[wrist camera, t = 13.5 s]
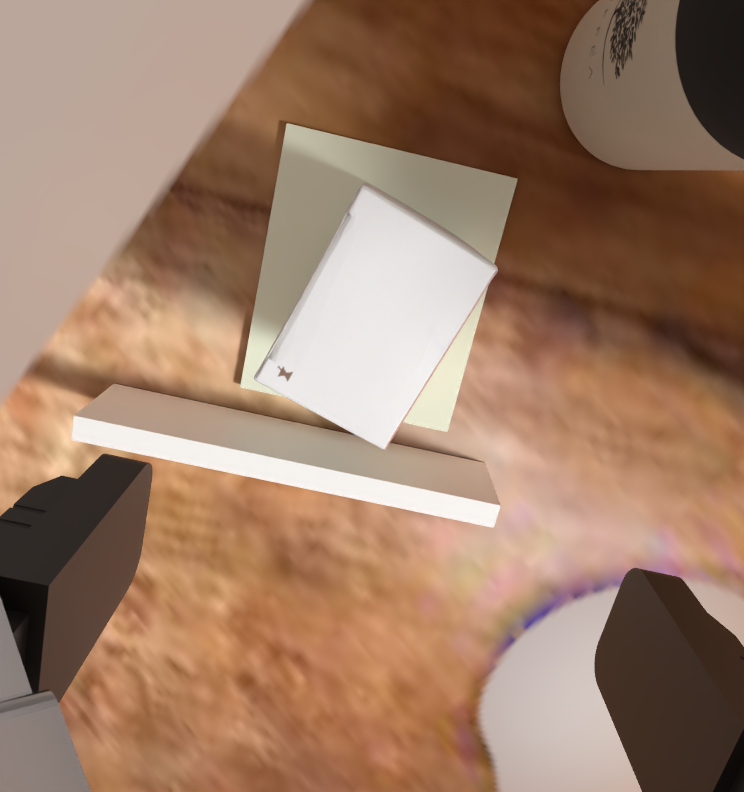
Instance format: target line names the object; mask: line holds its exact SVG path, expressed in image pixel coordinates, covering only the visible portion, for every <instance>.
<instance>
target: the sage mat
mask: <svg viewBox="0 0 744 792" xmlns="http://www.w3.org/2000/svg"><path fill="white" fill-rule="evenodd" d="M517 180H518V179H517V178H513V177H509V176H505V175H500V174H496V173H492V172H488V171H484V170H480V169H475V168H471V167H467V166H463V165H459V164H455V163H451V162H446V161H442V160H438V159H434V158H430V157H426V156H421V155H417V154H413V153H409V152H405V151H401V150H397V149H392V148H388V147H384V146H380V145H376V144H372V143H367V142H363V141H359V140H355V139H351V138H347V137H343V136H338V135H334V134H330V133H326V132H322V131H318V130H313V129H309V128H305V127H301V126H297V125H293V124H289V123H287V124H286V130H285V135H284V141H283V147H282V152H281V158H280V164H279V169H278V175H277V181H276V186H275V192H274V198H273V203H272V209H271V215H270V221H269V226H268V232H267V238H266V243H265V249H264V255H263V260H262V266H261V272H260V277H259V283H258V289H257V294H256V300H255V306H254V311H253V317H252V323H251V328H250V334H249V340H248V345H247V351H246V357H245V362H244V368H243V374H242V379H241V385H240V387H241V388H246V389H250V390H255V391H259V392H264V393H269V394H273V395H278V396H283V395H281V394H279V393H277V392H275V391H273V390H272V389H270V388H268V387H266V386H264V385H262V384H260V383H258V382H257V381H255V380H254V376H255V374H256V372H257V371H258V369H259V368H260V366H261V364H262V362H263V361H264V359H265V357H266V356H267V354H268V352H269V350H270V348H271V346H272V344H273V343H274V341H275V339H276V337H277V335H278V334H279V332H280V330H281V328H282V327H283V325H284V323H285V321H286V319H287V318H288V316H289V314H290V312H291V310H292V309H293V307H294V305H295V303H296V301H297V300H298V298H299V296H300V294H301V292H302V291H303V289H304V287H305V285H306V283H307V282H308V280H309V278H310V276H311V274H312V273H313V271H314V269H315V267H316V265H317V264H318V262H319V260H320V258H321V256H322V254H323V253H324V251H325V249H326V247H327V245H328V244H329V242H330V240H331V238H332V236H333V235H334V233H335V231H336V229H337V227H338V225H339V223H340V222H341V220H342V218H343V216H344V214H345V212H346V210H347V208H348V207H349V205H350V203H351V201H352V199H353V197H354V195H355V193H356V190H357V189H358V187H359V186H360V185H362V184H364V183H369V184H371V185H373V186H375V187H377V188H378V189H380V190H382V191H383V192H385V193H387V194H389V195H390V196H392V197H394V198H395V199H397V200H399V201H401V202H402V203H404V204H406V205H407V206H409V207H411V208H412V209H414V210H416V211H417V212H419V213H421V214H422V215H424V216H426V217H427V218H429V219H431V220H432V221H434V222H436V223H437V224H439V225H440V226H442V227H443V228H445V229H446V230H448V231H450V232H451V233H453V234H454V235H456V236H457V237H459V238H460V239H461V240H463V241H464V242H466V243H467V244H469V245H470V246H472V247H473V248H475V249H476V250H477V251H478V252H479V253H480V254H482V255H483V256H484V257H485V258H487V259H488V260H489V261H491V262H492V263H493V264H494V263H495V259H496V255H497V252H498V248H499V245H500V241H501V238H502V234H503V230H504V227H505V223H506V220H507V216H508V212H509V209H510V205H511V202H512V198H513V194H514V191H515V187H516V184H517ZM487 288H488V287H487ZM487 288H486V290H485V292H484V293H483V295H482V297H481V298H480V300H479V301H478V303H477V305H476V306H475V308H474V309H473V311H472V313H471V314H470V316H469V317H468V319H467V320H466V322H465V324H464V325H463V327H462V328H461V330H460V332H459V333H458V335H457V336H456V338H455V340H454V341H453V343H452V344H451V346H450V348H449V349H448V351H447V352H446V354H445V356H444V357H443V359H442V360H441V362H440V363H439V365H438V367H437V368H436V370H435V372H434V373H433V375H432V376H431V378H430V380H429V381H428V383H427V384H426V386H425V388H424V389H423V391H422V392H421V394H420V396H419V397H418V399H417V400H416V402H415V404H414V405H413V407H412V408H411V410H410V412H409V413H408V415H407V416H406V418H405V420H404V421H403V423H407V424H412V425H417V426H421V427H426V428H431V429H435V430H440V431H444V432H448V428H449V424H450V421H451V417H452V414H453V410H454V406H455V403H456V399H457V396H458V392H459V388H460V385H461V381H462V378H463V374H464V370H465V367H466V363H467V360H468V356H469V352H470V349H471V345H472V342H473V338H474V335H475V331H476V327H477V324H478V320H479V317H480V313H481V309H482V306H483V302H484V299H485V295H486V291H487ZM283 397H285V396H283Z"/></svg>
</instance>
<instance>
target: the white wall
mask: <svg viewBox="0 0 744 792" xmlns="http://www.w3.org/2000/svg"><path fill="white" fill-rule="evenodd" d="M72 440H75V441H80V442H85V443H89V444H94V445H99V446H104V447H109V448H113V449H118V450H123V451H128V452H133V453H137V454H142V455H147V456H152V457H157V458H161V459H166V460H171V461H176V462H181V463H185V464H190V465H195V466H200V467H205V468H209V469H214V470H219V471H224V472H229V473H233V474H238V475H243V476H248V477H253V478H257V479H262V480H267V481H272V482H277V483H281V484H286V485H291V486H296V487H300V488H305V489H310V490H315V491H320V492H324V493H329V494H334V495H339V496H344V497H348V498H353V499H358V500H363V501H368V502H372V503H377V504H382V505H387V506H392V507H396V508H401V509H406V510H411V511H416V512H420V513H425V514H430V515H435V516H440V517H444V518H449V519H454V520H459V521H464V522H468V523H473V524H478V525H483V526H488V527H492V528H494V525H495V522H496V519H497V515H498V512H499V509H500V506H501V505H500V502H499V500H498V497H497V494H496V491H495V489H494V486H493V483H492V481H491V478H490V475H489V472H488V470H487V467H486V464H485V463H483V462H478V461H474V460H469V459H464V458H460V457H455V456H450V455H446V454H441V453H436V452H432V451H427V450H422V449H418V448H413V447H408V446H404V445H399V444H394V443H389V445H388V447H387V449H381V448H379V447H377V446H376V445H374V444H372V443H370V442H368V441H366V440H364V439H363V438H361V437H359V436H357V435H352V434H348V433H343V432H338V431H334V430H329V429H324V428H320V427H315V426H310V425H306V424H301V423H296V422H292V421H287V420H282V419H278V418H273V417H268V416H264V415H259V414H254V413H249V412H245V411H240V410H235V409H231V408H226V407H221V406H217V405H212V404H207V403H203V402H198V401H193V400H189V399H184V398H179V397H175V396H170V395H165V394H161V393H156V392H151V391H147V390H142V389H137V388H133V387H128V386H123V385H119V384H112V385H111V386H110V387H109V388H108V389H106V390H105V391H104V392H103V393H101V394H100V395H99V396H98V397H96V398H95V399H94V400H93V401H92V402H90V403H89V404H88V405H87V406H85V407H84V408H83V409H82V410H80V411H79V412H78V413H77V414H76V415H74V422H73V431H72Z"/></svg>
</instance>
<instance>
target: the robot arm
mask: <svg viewBox="0 0 744 792" xmlns="http://www.w3.org/2000/svg"><path fill="white" fill-rule="evenodd" d="M151 482H152V465H151V464H150V463H147V462H142V461H137V460H133V459H128V458H123V457H119V456H114V455H109V454H102V455H101V456H100V457H99V458H98V459H97V460H96V461H95V462H94V463H93V464H92V465H91V466H90V467H89V468H88V469H87V470H86V471H85V472H84V473H83V474H82V475H81V476H80V477H79V478H78V479H75V478H70V477H65V476H60V477H57V478H55V479H52V480H50V481H47V482H45V483H42V484H40V485H37V486H35V487H32V488H31V489H30V490H29V491H28V492H27V493H26V494H25V495H23V496H22V497H21V498H20V499H19V500H18V501H17V502H16V503H15V504H14V506H13V508H9V509H8V510H7V511H6V512H5V513H4V514H2V515H1V516H0V792H91V791H90V788H89V785H88V783H87V780H86V777H85V774H84V772H83V769H82V766H81V764H80V761H79V758H78V755H77V753H76V750H75V747H74V744H73V742H72V739H71V736H70V734H69V731H68V728H67V725H66V723H65V720H64V717H63V714H62V712H61V709H60V706H59V704H58V703H59V702H60V700H61V699H62V697H63V695H64V694H65V692H66V690H67V689H68V687H69V685H70V684H71V682H72V680H73V679H74V677H75V676H76V674H77V672H78V671H79V669H80V667H81V666H82V664H83V662H84V661H85V659H86V657H87V656H88V654H89V653H90V651H91V649H92V648H93V646H94V644H95V643H96V641H97V639H98V638H99V636H100V634H101V633H102V631H103V629H104V628H105V626H106V625H107V623H108V621H109V620H110V618H111V616H112V615H113V613H114V611H115V610H116V608H117V606H118V605H119V603H120V602H121V600H122V598H123V597H124V595H125V593H126V592H127V590H128V588H129V586H130V585H131V582H132V580H133V578H134V575H135V572H136V569H137V566H138V563H139V559H140V555H141V550H142V544H143V537H144V530H145V523H146V516H147V509H148V502H149V495H150V489H151ZM595 677H596V682H597V685H598V687H599V690H600V692H601V694H602V697H603V699H604V701H605V704H606V706H607V709H608V711H609V713H610V716H611V718H612V721H613V723H614V725H615V728H616V730H617V733H618V735H619V737H620V740H621V742H622V745H623V747H624V749H625V752H626V754H627V756H628V759H629V761H630V764H631V766H632V768H633V771H634V773H635V775H636V778H637V780H638V783H639V785H640V787H641V790H642V792H744V647H743V645H742V644H741V643H740V641H739V640H738V639H737V637H736V636H735V635H734V634H732V633H731V632H730V631H729V630H728V629H726V628H725V627H724V626H723V625H722V624H720V623H719V622H718V621H717V620H716V619H714V618H713V617H712V616H711V615H710V614H708V613H707V612H706V610H705V609H704V608H703V606H702V605H701V604H700V602H699V601H698V600H697V598H696V597H695V596H694V594H693V593H692V591H691V590H690V589H689V587H688V586H687V585H686V583H685V582H684V581H683V580H682V579H681V578H679V577H676V576H671V575H667V574H662V573H657V572H653V571H648V570H643V569H638V568H633V569H631V570H630V571H628V573H627V574H626V575H625V577H624V579H623V581H622V584H621V586H620V589H619V591H618V594H617V596H616V599H615V602H614V604H613V607H612V609H611V612H610V614H609V617H608V619H607V622H606V624H605V628H604V630H603V632H602V635H601V637H600V640H599V642H598V646H597V649H596V654H595Z"/></svg>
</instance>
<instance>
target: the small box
mask: <svg viewBox="0 0 744 792" xmlns="http://www.w3.org/2000/svg"><path fill="white" fill-rule="evenodd" d="M497 271H498V268H497V266H496V265H495V264H493V263H492V262H491V261H489V260H488V259H487V258H485V257H484V256H483V255H482V254H480V253H479V252H478V251H477V250H476V249H475V248H473V247H472V246H470V245H469V244H467V243H466V242H464V241H463V240H461V239H460V238H459V237H457V236H456V235H454V234H453V233H451V232H450V231H448V230H446V229H445V228H443V227H442V226H440V225H439V224H437V223H436V222H434V221H432V220H431V219H429V218H427V217H426V216H424V215H422V214H421V213H419V212H417V211H416V210H414V209H412V208H411V207H409V206H407V205H406V204H404V203H402V202H401V201H399V200H397V199H395V198H394V197H392V196H390V195H389V194H387V193H385V192H383V191H382V190H380V189H378V188H377V187H375V186H373V185H371V184H369V183H364V184H362V185H360V186H359V187H358V189H357V190H356V193H355V195H354V197H353V199H352V201H351V203H350V205H349V207H348V208H347V210H346V212H345V214H344V216H343V218H342V220H341V222H340V223H339V225H338V227H337V229H336V231H335V233H334V235H333V236H332V238H331V240H330V242H329V244H328V245H327V247H326V249H325V251H324V253H323V254H322V256H321V258H320V260H319V262H318V264H317V265H316V267H315V269H314V271H313V273H312V274H311V276H310V278H309V280H308V282H307V283H306V285H305V287H304V289H303V291H302V292H301V294H300V296H299V298H298V300H297V301H296V303H295V305H294V307H293V309H292V310H291V312H290V314H289V316H288V318H287V319H286V321H285V323H284V325H283V327H282V328H281V330H280V332H279V334H278V335H277V337H276V339H275V341H274V343H273V344H272V346H271V348H270V350H269V352H268V354H267V356H266V357H265V359H264V361H263V362H262V364H261V366H260V368H259V369H258V371H257V372H256V374H255V376H254V380H255V381H257V382H258V383H260V384H262V385H264V386H266V387H268V388H270V389H272V390H273V391H275V392H277V393H279V394H281V395H283V396H285V397H287V398H288V399H290V400H292V401H294V402H296V403H298V404H300V405H301V406H303V407H305V408H307V409H309V410H311V411H313V412H314V413H316V414H318V415H320V416H322V417H324V418H326V419H327V420H329V421H331V422H333V423H335V424H337V425H338V426H340V427H342V428H344V429H346V430H348V431H349V432H351V433H353V434H355V435H357V436H359V437H361V438H363V439H364V440H366V441H368V442H370V443H372V444H374V445H376V446H377V447H379V448H381V449H387V447H388V445H389V443H390V442H391V440H392V439H393V437H394V436H395V434H396V432H397V431H398V429H399V428H400V426H401V424H402V423H403V421H404V420H405V418H406V416H407V415H408V413H409V412H410V410H411V408H412V407H413V405H414V404H415V402H416V400H417V399H418V397H419V396H420V394H421V392H422V391H423V389H424V388H425V386H426V384H427V383H428V381H429V380H430V378H431V376H432V375H433V373H434V372H435V370H436V368H437V367H438V365H439V363H440V362H441V360H442V359H443V357H444V356H445V354H446V352H447V351H448V349H449V348H450V346H451V344H452V343H453V341H454V340H455V338H456V336H457V335H458V333H459V332H460V330H461V328H462V327H463V325H464V324H465V322H466V320H467V319H468V317H469V316H470V314H471V313H472V311H473V309H474V308H475V306H476V305H477V303H478V301H479V300H480V298H481V297H482V295H483V293H484V292H485V290H486V288H487V287H488V285H489V284H490V282H491V280H492V279H493V277H494V276H495V275H496V273H497Z"/></svg>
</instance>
